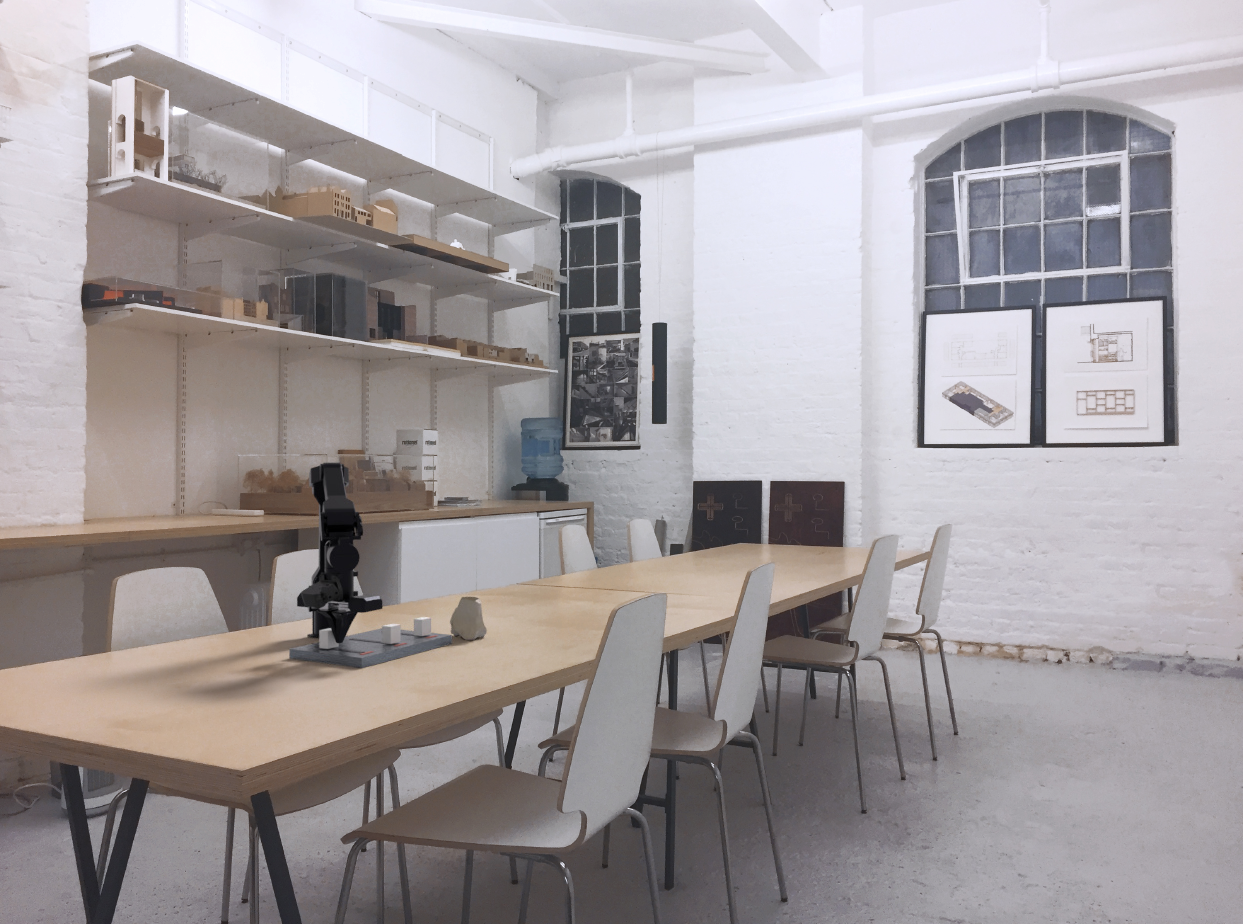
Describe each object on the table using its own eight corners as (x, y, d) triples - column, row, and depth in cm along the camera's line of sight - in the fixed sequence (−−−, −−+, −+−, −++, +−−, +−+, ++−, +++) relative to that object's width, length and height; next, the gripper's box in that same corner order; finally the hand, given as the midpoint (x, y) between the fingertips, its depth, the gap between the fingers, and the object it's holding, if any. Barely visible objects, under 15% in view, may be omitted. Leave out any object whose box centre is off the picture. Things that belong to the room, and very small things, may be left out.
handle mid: (382, 642, 196) (382, 625, 196) (391, 640, 199) (391, 623, 199) (390, 643, 195) (390, 626, 195) (400, 641, 198) (400, 624, 198)
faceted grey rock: (486, 646, 215) (498, 604, 218) (470, 639, 208) (483, 597, 211) (453, 638, 218) (466, 598, 221) (437, 632, 212) (451, 590, 215)
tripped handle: (319, 647, 191) (319, 630, 191) (330, 645, 194) (330, 627, 194) (327, 648, 190) (327, 631, 190) (338, 646, 192) (338, 628, 192)
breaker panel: (289, 658, 192) (289, 648, 192) (383, 636, 216) (383, 627, 216) (361, 668, 182) (361, 657, 182) (451, 643, 207) (451, 634, 207)
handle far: (413, 635, 205) (413, 618, 205) (422, 632, 208) (422, 616, 208) (422, 636, 204) (422, 619, 204) (431, 633, 206) (431, 617, 206)
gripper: (275, 568, 188) (276, 645, 188) (344, 573, 179) (344, 654, 179) (317, 563, 198) (317, 636, 198) (384, 568, 189) (384, 644, 189)
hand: (339, 642), depth 191 cm, fingers closed
